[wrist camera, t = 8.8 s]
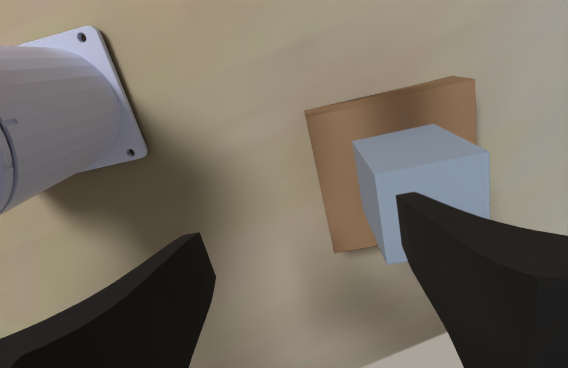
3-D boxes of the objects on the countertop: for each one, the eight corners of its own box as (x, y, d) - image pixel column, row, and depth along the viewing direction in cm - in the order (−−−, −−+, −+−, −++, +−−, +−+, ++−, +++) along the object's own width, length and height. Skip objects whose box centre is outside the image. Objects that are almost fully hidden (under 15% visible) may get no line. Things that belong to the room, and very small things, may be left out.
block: (363, 210, 20) (386, 264, 15) (352, 141, 18) (374, 174, 13) (438, 196, 19) (489, 247, 14) (433, 123, 18) (489, 151, 13)
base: (330, 233, 23) (334, 253, 21) (304, 110, 20) (305, 118, 18) (458, 209, 22) (477, 227, 20) (453, 76, 19) (475, 79, 17)
